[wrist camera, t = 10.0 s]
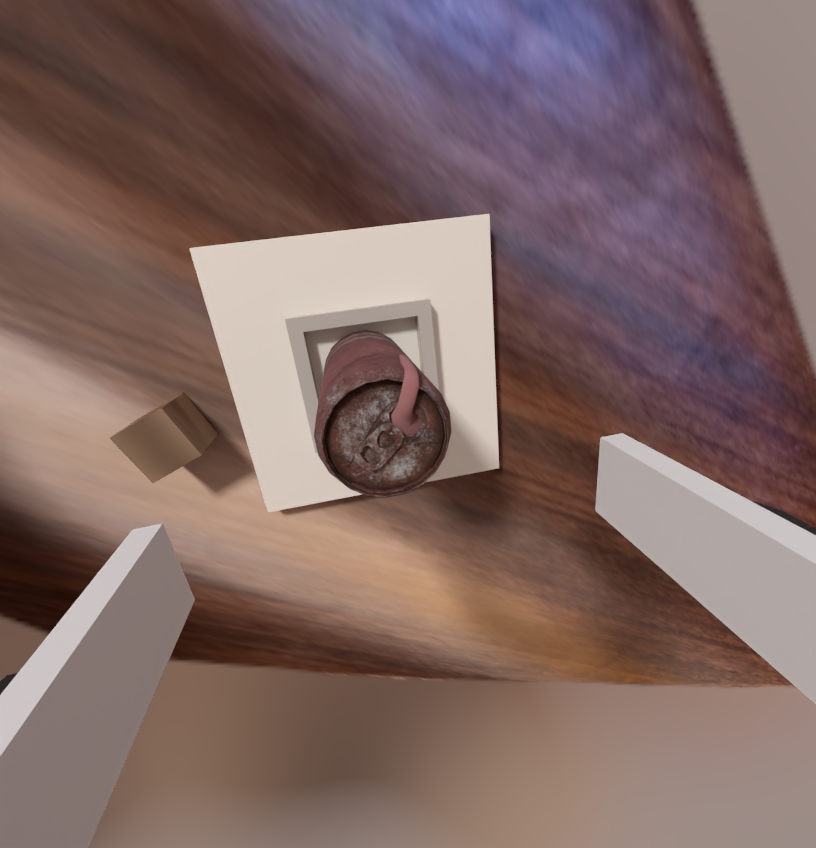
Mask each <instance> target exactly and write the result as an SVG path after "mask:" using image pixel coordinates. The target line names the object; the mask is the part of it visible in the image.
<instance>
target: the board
mask: <svg viewBox="0 0 816 848" xmlns="http://www.w3.org/2000/svg"><path fill="white" fill-rule="evenodd" d="M189 249H190V253H191V256H192V259H193V263H194V266H195V269H196V273H197V276H198V280H199V283H200V286H201V290H202V293H203V296H204V300H205V303H206V306H207V310H208V313H209V316H210V320H211V323H212V327H213V330H214V333H215V337H216V340H217V343H218V347H219V350H220V353H221V357H222V360H223V364H224V367H225V370H226V374H227V377H228V380H229V384H230V387H231V390H232V394H233V397H234V400H235V404H236V407H237V411H238V414H239V417H240V421H241V424H242V427H243V431H244V434H245V437H246V441H247V444H248V448H249V451H250V454H251V458H252V461H253V464H254V468H255V471H256V474H257V478H258V481H259V484H260V488H261V491H262V495H263V498H264V501H265V505H266V508H267V511H268V512H273V511H279V510H284V509H289V508H294V507H299V506H305V505H310V504H315V503H320V502H326V501H331V500H336V499H341V498H346V497H352V496H357V495H362V494H361V493H358V492H356V491H353V490H351V489H349V488H348V487H346V486H345V485H344V484H343V483H341V482H340V481H339V480H338V479H336V478H335V477H334V476H333V475H331V474H330V473H329V472H328V470H327V468H326V467H325V465H324V464H323V462H322V461H321V459H320V457H319V456H318V452H317V447H316V443H315V439H314V430H315V422H316V414H317V408H318V402H319V397H320V391H321V385H322V379H323V373H324V367H325V361H326V358H327V356H328V354H329V352H330V350H331V348H332V347H333V346H334V345H335V344H336V343H337V342H338V341H339V340H340V339H341V338H342V337H344V336H346V335H348V334H350V333H352V332H357V331H364V330H369V331H374V332H380V333H382V334H384V335H385V336H387V337H389V338H391V339H392V340H393V341H394V342H395V343H396V344H397V345H398V346H399V347H400V348H401V349H402V351H403V352H404V353H405V354H406V355H407V356H408V357H409V358H410V359H411V360H412V362H413V363H414V364H415V365H416V366H417V367H418V368H419V369H420V370H421V372H422V373H423V374H424V375H425V376H426V377H427V378H428V379H429V380H430V381H431V383H432V384H433V385H434V386H435V387H436V388H437V389H438V390H439V391H440V393H441V394H442V396H443V398H444V400H445V402H446V405H447V407H448V409H449V411H450V419H451V431H452V432H451V436H450V440H449V445H448V449H447V452H446V455H445V458H444V459H443V461H442V463H441V464H440V466H439V468H438V469H437V471H436V473H435V474H434V475H433V476H431V477H430V478H429V479H428V480H427V481H426V482H430V481H435V480H440V479H446V478H451V477H456V476H461V475H466V474H472V473H477V472H482V471H487V470H493V469H498V468H499V450H498V424H497V398H496V373H495V347H494V321H493V295H492V269H491V243H490V217H489V214H483V215H474V216H466V217H457V218H448V219H439V220H431V221H422V222H413V223H405V224H396V225H387V226H378V227H370V228H361V229H352V230H343V231H335V232H326V233H317V234H309V235H300V236H291V237H282V238H274V239H265V240H256V241H248V242H239V243H230V244H221V245H213V246H204V247H195V248H189Z"/></svg>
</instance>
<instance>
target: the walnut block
mask: <svg viewBox="0 0 816 848" xmlns="http://www.w3.org/2000/svg"><path fill="white" fill-rule="evenodd" d="M217 436H218V433H217V432H216V431H215V430H214V429H213V427H212V426H211V425H210V424H209V423H208V421H207V420H206V419H205V418H204V417H203V415H202V414H201V413H200V412H199V411H198V409H197V408H196V407H195V406H194V404H193V403H192V402H191V401H190V400H189V398H188V397H187V396H186V395H185V394H184V392H183V393H182V394H180V395H178V396H177V397H175V398H173V399H171V400H170V401H168V402H166V403H165V404H163V405H161V406H160V407H158V408H156V409H154V410H153V411H151V412H149V413H148V414H146V415H144V416H142V417H141V418H139V419H137V420H136V421H134V422H133V423H131V424H130V425H128V426H127V427H126V428H124V429H123V430H121V431H120V432H118V433H117V434H115V435H114V436H112V437H111V438H110V439H111V440H112V441H113V442H114V443H115V444H116V445H117V447H118V448H119V449H120V450H121V451H122V452H123V453H124V454H125V455H126V456H127V457H128V458H129V459H130V460H131V461H132V462H133V463H134V464H135V465H136V466H137V467H138V468H139V469H140V470H141V471H142V472H143V473H144V475H145V476H146V477H147V478H148V479H149V480H150V481H151V482H152V483H154V482H156V481H158V480H159V479H161V478H163V477H165V476H166V475H168V474H170V473H172V472H173V471H175V470H177V469H178V468H180V467H182V466H184V465H185V464H187V463H189V462H191V461H192V460H194V459H196V458H198V457H199V456H201V455H202V454H203V453H204V452H205V450H206V449H207V448H208V447H209V445H210V444H211V443H212V442H213V440H214V439H215V438H216V437H217Z"/></svg>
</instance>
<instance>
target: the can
mask: <svg viewBox="0 0 816 848" xmlns="http://www.w3.org/2000/svg"><path fill="white" fill-rule="evenodd" d="M451 432H452V431H451V419H450V411H449V409H448V407H447V405H446V402H445V400H444V398H443V396H442V394H441V393H440V391H439V390H438V389H437V388H436V387H435V386H434V385H433V384H432V383H431V381H430V380H429V379H428V378H427V377H426V376H425V375H424V374H423V373H422V372H421V370H420V369H419V368H418V367H417V366H416V365H415V364H414V363H413V362H412V360H411V359H410V358H409V357H408V356H407V355H406V354H405V353H404V352H403V351H402V349H401V348H400V347H399V346H398V345H397V344H396V343H395V342H394V341H393V340H392V339H391V338H389V337H387V336H385V335H384V334H382V333H380V332H374V331H369V330H364V331H357V332H352V333H350V334H348V335H346V336H344V337H342V338H341V339H340V340H339V341H338V342H337V343H336V344H335V345H334V346H333V347H332V348H331V350H330V352H329V354H328V356H327V358H326V361H325V367H324V373H323V379H322V385H321V391H320V397H319V402H318V408H317V414H316V422H315V430H314V439H315V443H316V447H317V452H318V456H319V457H320V459H321V461H322V462H323V464H324V465H325V467H326V468H327V470H328V472H329V473H330V474H331V475H333V476H334V477H335V478H336V479H338V480H339V481H340V482H341V483H343V484H344V485H345V486H346V487H348V488H349V489H351V490H353V491H356V492H358V493H361V494H363V495H366V496H374V497H391V496H396V495H402V494H406V493H408V492H410V491H412V490H414V489H416V488H417V487H419V486H421V485H423V484H424V483H425V482H426V481H427V480H428V479H429V478H430V477H431V476H433V475H434V474H435V473H436V471H437V469H438V468H439V466H440V464H441V463H442V461H443V459H444V458H445V455H446V452H447V449H448V445H449V440H450V436H451Z"/></svg>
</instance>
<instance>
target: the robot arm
mask: <svg viewBox="0 0 816 848" xmlns="http://www.w3.org/2000/svg"><path fill="white" fill-rule="evenodd" d="M595 511H596V512H597V513H598V514H600V515H601V516H602V517H603V518H604V519H605V520H606V521H608V522H609V523H610V524H611V525H612V526H613V527H614V528H616V529H617V530H618V531H619V532H620V533H621V534H622V535H624V536H625V537H626V538H627V539H628V540H629V541H630V542H632V543H633V544H634V545H635V546H636V547H637V548H638V549H639V550H641V551H642V552H643V553H644V554H645V555H646V556H647V557H649V558H650V559H651V560H652V561H653V562H654V563H655V564H657V565H658V566H659V567H660V568H661V569H662V570H663V571H665V572H666V573H667V574H668V575H669V576H670V577H671V578H673V579H674V580H675V581H676V582H677V583H678V584H679V585H681V586H682V587H683V588H684V589H685V590H686V591H687V592H688V593H690V594H691V595H692V596H693V597H694V598H695V599H696V600H698V601H699V602H700V603H701V604H702V605H703V606H704V607H706V608H707V609H708V610H709V611H710V612H711V613H712V614H714V615H715V616H716V617H717V618H718V619H719V620H720V621H722V622H723V623H724V624H725V625H726V626H727V627H728V628H730V629H731V630H732V631H733V632H734V633H735V634H736V635H737V636H739V637H740V638H741V639H742V640H743V641H744V642H745V643H747V644H748V645H749V646H750V647H751V648H752V649H753V650H755V651H756V652H757V653H758V654H759V655H760V656H761V657H763V658H764V659H765V660H766V661H767V662H768V663H769V664H771V665H772V666H773V667H774V668H775V669H776V670H777V671H778V672H780V673H781V674H782V675H783V676H784V677H785V678H786V679H788V680H789V681H790V682H791V683H792V684H793V685H794V686H796V687H797V688H798V689H799V690H800V691H801V692H803V693H804V694H805V695H806V696H807V697H808V698H809V699H810V700H812V701H813V702H814V703H815V704H816V528H815V527H812V528H810V527H809V525H808V524H807V523H805V522H803V521H801V520H799V519H797V518H795V517H793V516H791V515H789V514H787V513H785V512H784V511H781V510H778V509H775V508H772V507H769V506H766V505H763V504H760V503H757V502H754V501H750V500H748V499H746V498H744V497H742V496H740V495H738V494H737V493H735V492H733V491H731V490H729V489H727V488H725V487H723V486H721V485H719V484H718V483H716V482H714V481H712V480H710V479H708V478H706V477H704V476H702V475H701V474H699V473H697V472H695V471H693V470H691V469H689V468H687V467H685V466H684V465H682V464H680V463H678V462H676V461H674V460H672V459H670V458H668V457H666V456H665V455H663V454H661V453H659V452H657V451H655V450H653V449H651V448H649V447H648V446H646V445H644V444H642V443H640V442H638V441H636V440H634V439H632V438H631V437H629V436H627V435H625V434H623V433H621V434H616V435H611V436H606V437H601V438H600V451H599V465H598V480H597V494H596V508H595ZM194 601H195V599H194V596H193V594H192V592H191V589H190V587H189V585H188V582H187V580H186V578H185V575H184V573H183V571H182V568H181V566H180V563H179V561H178V559H177V556H176V554H175V552H174V549H173V547H172V545H171V542H170V540H169V537H168V535H167V533H166V530H165V528H164V526H163V524H158V525H153V526H148V527H143V528H138V529H133V530H132V531H131V532H130V534H129V535H128V536H127V537H126V539H125V540H124V541H123V542H122V544H121V545H120V546H119V547H118V549H117V550H116V551H115V552H114V554H113V555H112V556H111V557H110V559H109V560H108V561H107V562H106V564H105V565H104V566H103V567H102V569H101V570H100V571H99V572H98V574H97V575H96V576H95V577H94V579H93V580H92V581H91V582H90V584H89V585H88V586H87V587H86V589H85V590H84V591H83V592H82V594H81V595H80V596H79V597H78V599H77V600H76V601H75V602H74V604H73V605H72V606H71V607H70V609H69V610H68V611H67V612H66V614H65V615H64V616H63V617H62V619H61V620H60V621H59V622H58V624H57V625H56V626H55V627H54V628H53V630H52V631H51V632H50V633H49V635H48V636H47V637H46V639H45V640H44V641H43V642H42V644H41V645H40V646H39V647H38V648H37V650H36V651H35V652H34V654H33V655H32V656H31V657H30V659H29V660H28V661H27V662H26V663H25V665H24V666H23V667H22V668H21V670H20V671H19V672H18V673H16V674H12V675H7V676H6V677H5V678H4V679H3V680H1V681H0V848H88V847H89V844H90V842H91V839H92V837H93V835H94V833H95V830H96V828H97V826H98V823H99V821H100V819H101V816H102V814H103V812H104V809H105V807H106V805H107V803H108V800H109V798H110V796H111V793H112V791H113V789H114V786H115V784H116V782H117V779H118V777H119V774H120V772H121V770H122V768H123V765H124V763H125V761H126V758H127V756H128V754H129V751H130V749H131V747H132V744H133V742H134V740H135V738H136V735H137V733H138V731H139V728H140V726H141V724H142V721H143V719H144V717H145V714H146V712H147V709H148V707H149V705H150V703H151V700H152V698H153V696H154V693H155V691H156V688H157V686H158V684H159V682H160V679H161V677H162V675H163V672H164V670H165V668H166V666H167V663H168V661H169V659H170V656H171V654H172V652H173V649H174V647H175V645H176V642H177V640H178V638H179V635H180V633H181V631H182V628H183V626H184V624H185V621H186V619H187V617H188V614H189V612H190V610H191V607H192V605H193V603H194Z"/></svg>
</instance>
